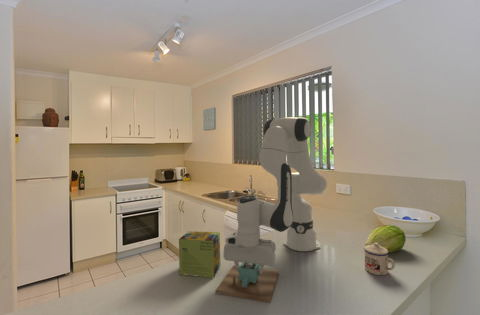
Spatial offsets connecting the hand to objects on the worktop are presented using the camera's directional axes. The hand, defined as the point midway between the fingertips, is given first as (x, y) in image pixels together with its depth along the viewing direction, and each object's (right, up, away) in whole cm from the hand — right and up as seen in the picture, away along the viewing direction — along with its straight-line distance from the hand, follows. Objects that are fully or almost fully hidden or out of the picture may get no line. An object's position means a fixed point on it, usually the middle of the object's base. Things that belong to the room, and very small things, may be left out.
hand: (249, 273), depth 98 cm
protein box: (-21, -4, +11) cm, 24 cm away
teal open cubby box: (-1, -2, -2) cm, 3 cm away
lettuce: (+68, -2, +28) cm, 74 cm away
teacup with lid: (+55, -3, +7) cm, 55 cm away
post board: (0, -4, 0) cm, 4 cm away
